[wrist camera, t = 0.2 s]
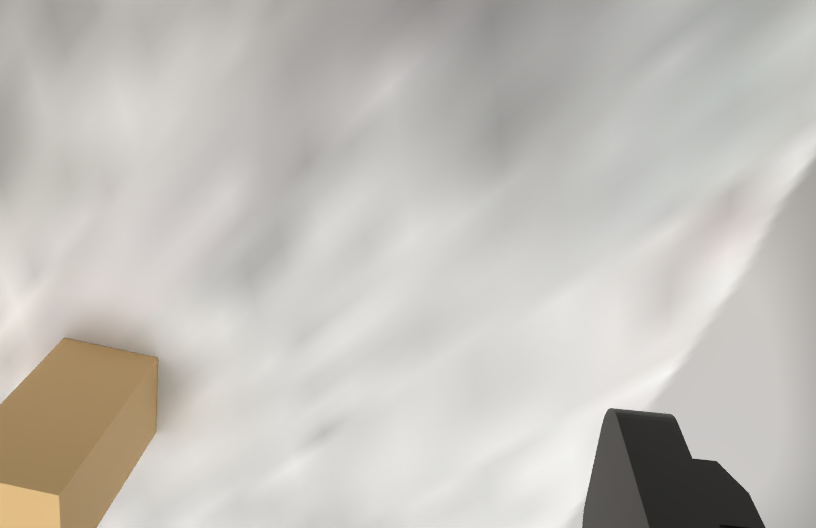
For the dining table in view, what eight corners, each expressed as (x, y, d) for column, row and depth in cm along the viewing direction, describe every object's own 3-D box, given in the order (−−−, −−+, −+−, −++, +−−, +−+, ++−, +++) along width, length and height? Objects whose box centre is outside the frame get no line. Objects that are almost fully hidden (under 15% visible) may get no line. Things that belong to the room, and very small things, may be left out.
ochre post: (64, 338, 32) (-62, 469, 25) (157, 357, 32) (58, 495, 25) (67, 413, 34) (-50, 556, 27) (155, 432, 34) (62, 580, 27)
